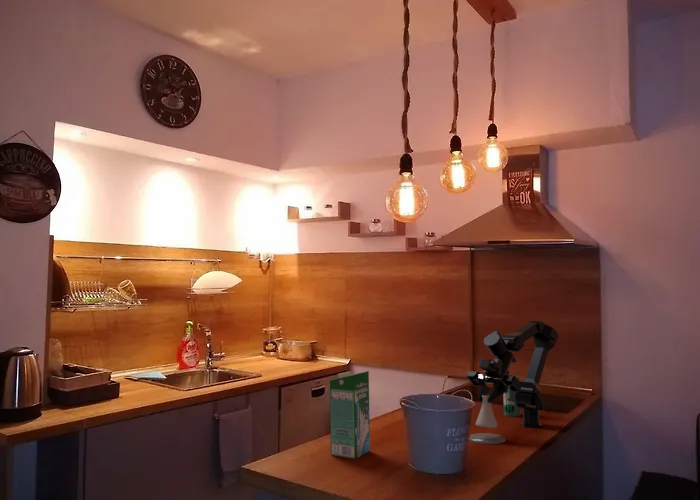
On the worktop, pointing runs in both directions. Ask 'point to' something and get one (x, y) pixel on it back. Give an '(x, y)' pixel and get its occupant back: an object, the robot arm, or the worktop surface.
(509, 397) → the can
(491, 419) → the flask
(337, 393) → the milk carton
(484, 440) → the slate coaster
